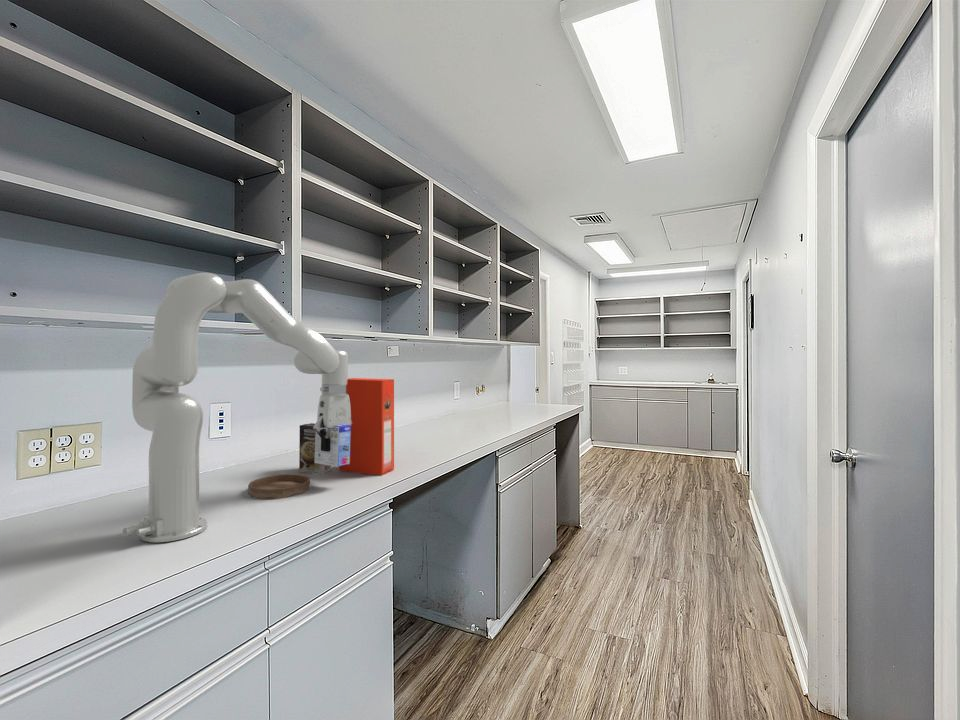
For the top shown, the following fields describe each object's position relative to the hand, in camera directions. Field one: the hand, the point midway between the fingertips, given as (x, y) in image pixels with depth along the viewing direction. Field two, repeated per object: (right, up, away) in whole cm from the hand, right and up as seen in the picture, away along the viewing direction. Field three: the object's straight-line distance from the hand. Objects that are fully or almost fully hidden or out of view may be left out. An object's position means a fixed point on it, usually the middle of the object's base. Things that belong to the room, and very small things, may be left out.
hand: (332, 448), depth 139 cm
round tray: (-14, -12, -4) cm, 19 cm away
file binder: (+5, -12, +19) cm, 23 cm away
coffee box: (-12, -11, +18) cm, 25 cm away
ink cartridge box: (0, -5, 0) cm, 5 cm away
